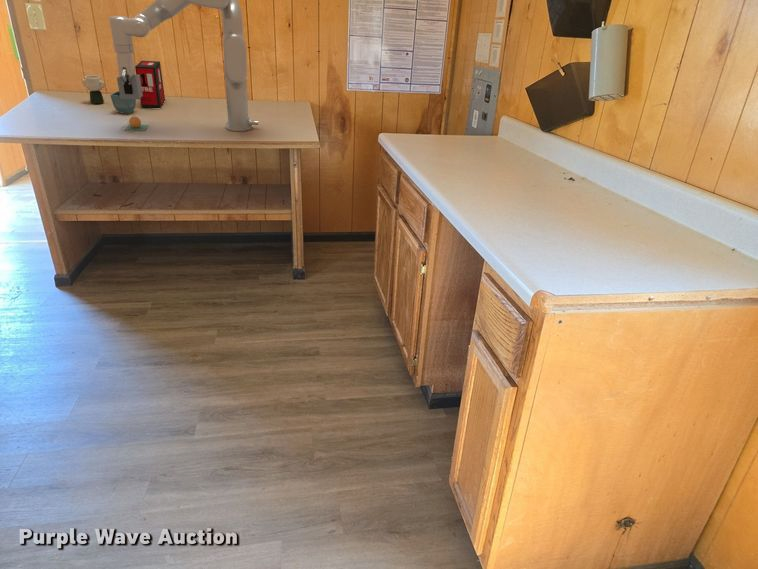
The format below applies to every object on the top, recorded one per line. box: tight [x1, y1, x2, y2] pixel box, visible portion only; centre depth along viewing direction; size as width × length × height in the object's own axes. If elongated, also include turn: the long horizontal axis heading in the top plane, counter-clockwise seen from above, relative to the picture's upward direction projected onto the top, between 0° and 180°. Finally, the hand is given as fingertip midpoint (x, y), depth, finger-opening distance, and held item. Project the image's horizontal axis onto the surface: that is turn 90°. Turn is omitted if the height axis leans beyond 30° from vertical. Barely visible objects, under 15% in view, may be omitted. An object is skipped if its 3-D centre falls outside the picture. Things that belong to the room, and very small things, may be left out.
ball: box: [128, 116, 142, 128], centre depth 239 cm, size 5×5×5 cm
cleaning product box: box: [134, 60, 166, 109], centre depth 270 cm, size 16×9×20 cm, turn 10°
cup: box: [116, 74, 143, 101], centre depth 231 cm, size 8×8×9 cm
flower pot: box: [110, 90, 137, 115], centre depth 257 cm, size 9×9×9 cm
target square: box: [123, 123, 150, 132], centre depth 240 cm, size 9×9×1 cm
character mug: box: [82, 74, 106, 104], centre depth 266 cm, size 11×7×13 cm, turn 88°
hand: (131, 91), depth 232 cm, fingers closed on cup, 7 cm apart
